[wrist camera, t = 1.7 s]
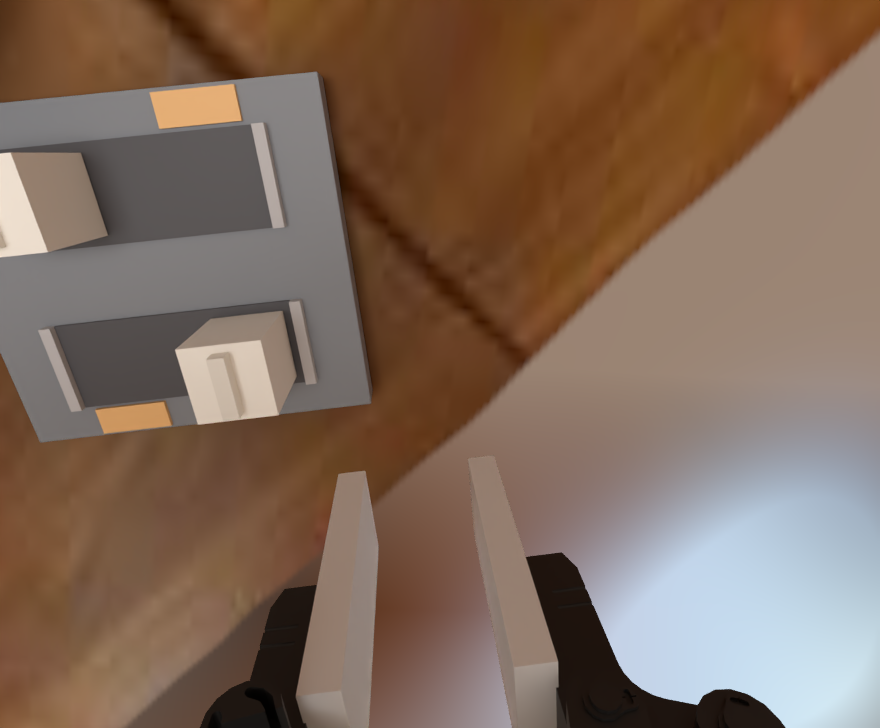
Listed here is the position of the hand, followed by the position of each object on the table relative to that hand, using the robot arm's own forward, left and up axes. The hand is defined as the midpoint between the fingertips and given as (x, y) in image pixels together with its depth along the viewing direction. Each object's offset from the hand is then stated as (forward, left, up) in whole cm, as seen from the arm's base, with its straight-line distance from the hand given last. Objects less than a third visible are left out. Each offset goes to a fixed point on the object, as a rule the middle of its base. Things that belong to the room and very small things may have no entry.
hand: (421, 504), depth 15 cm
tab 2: (-17, +9, -16) cm, 25 cm away
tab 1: (-9, 0, -16) cm, 19 cm away
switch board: (-13, +4, -19) cm, 23 cm away
